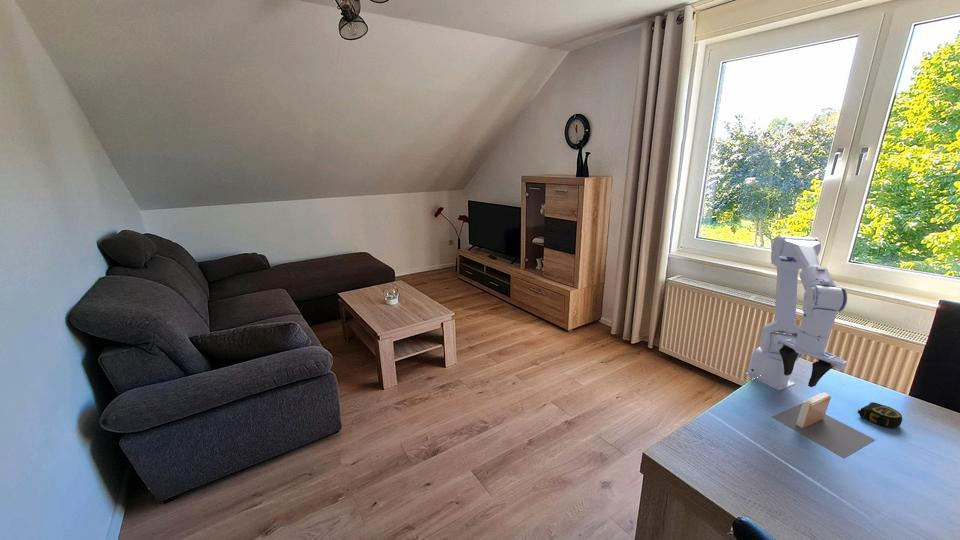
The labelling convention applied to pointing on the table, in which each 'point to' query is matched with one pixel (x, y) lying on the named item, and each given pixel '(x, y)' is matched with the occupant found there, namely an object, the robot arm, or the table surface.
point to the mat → (827, 432)
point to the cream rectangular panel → (813, 409)
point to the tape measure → (881, 415)
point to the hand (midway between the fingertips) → (799, 379)
